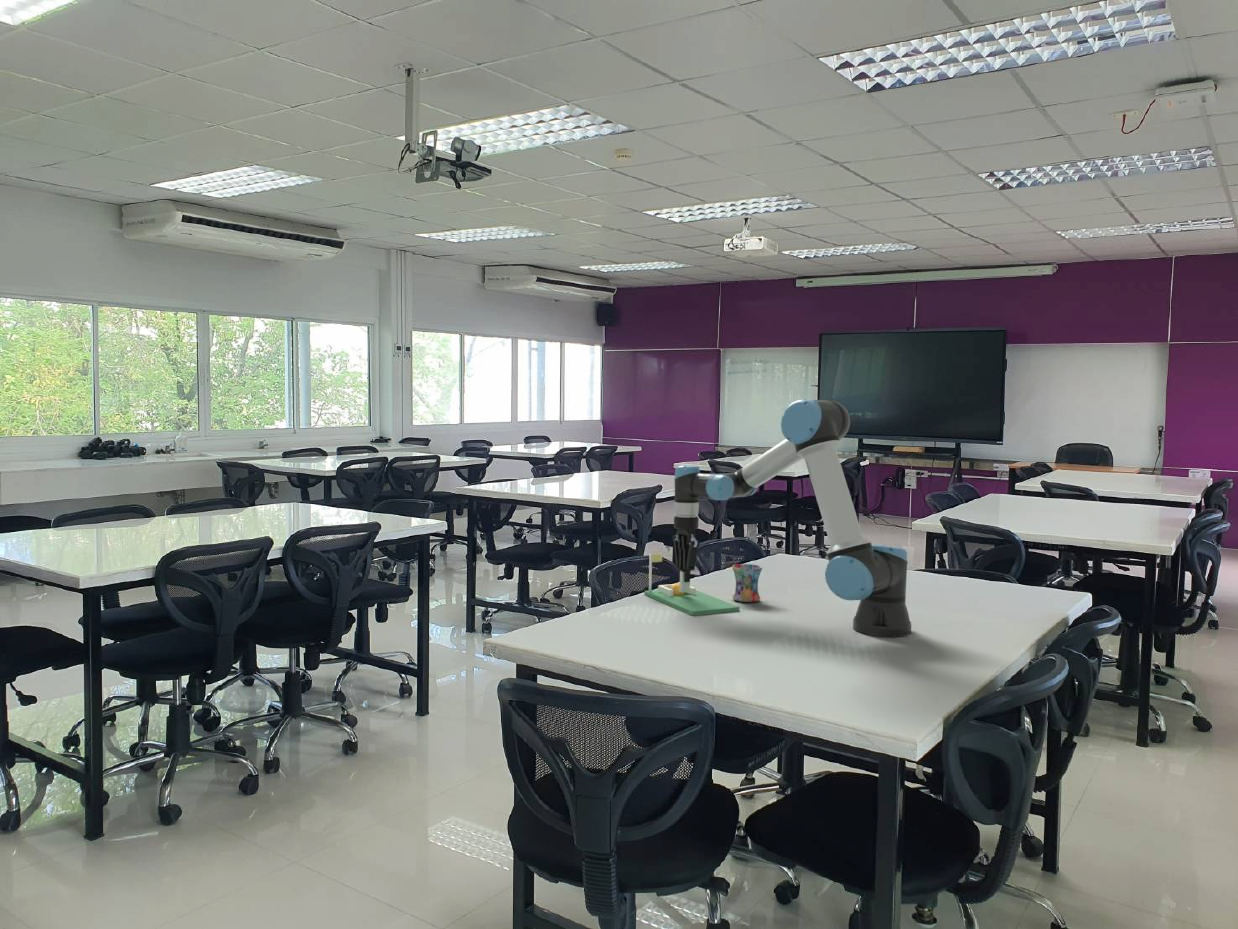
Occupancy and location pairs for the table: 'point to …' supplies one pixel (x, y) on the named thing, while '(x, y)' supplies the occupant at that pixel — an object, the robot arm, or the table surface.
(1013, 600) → the table surface
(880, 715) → the table surface
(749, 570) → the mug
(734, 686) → the table surface
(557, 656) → the table surface
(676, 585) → the ball
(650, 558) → the green
